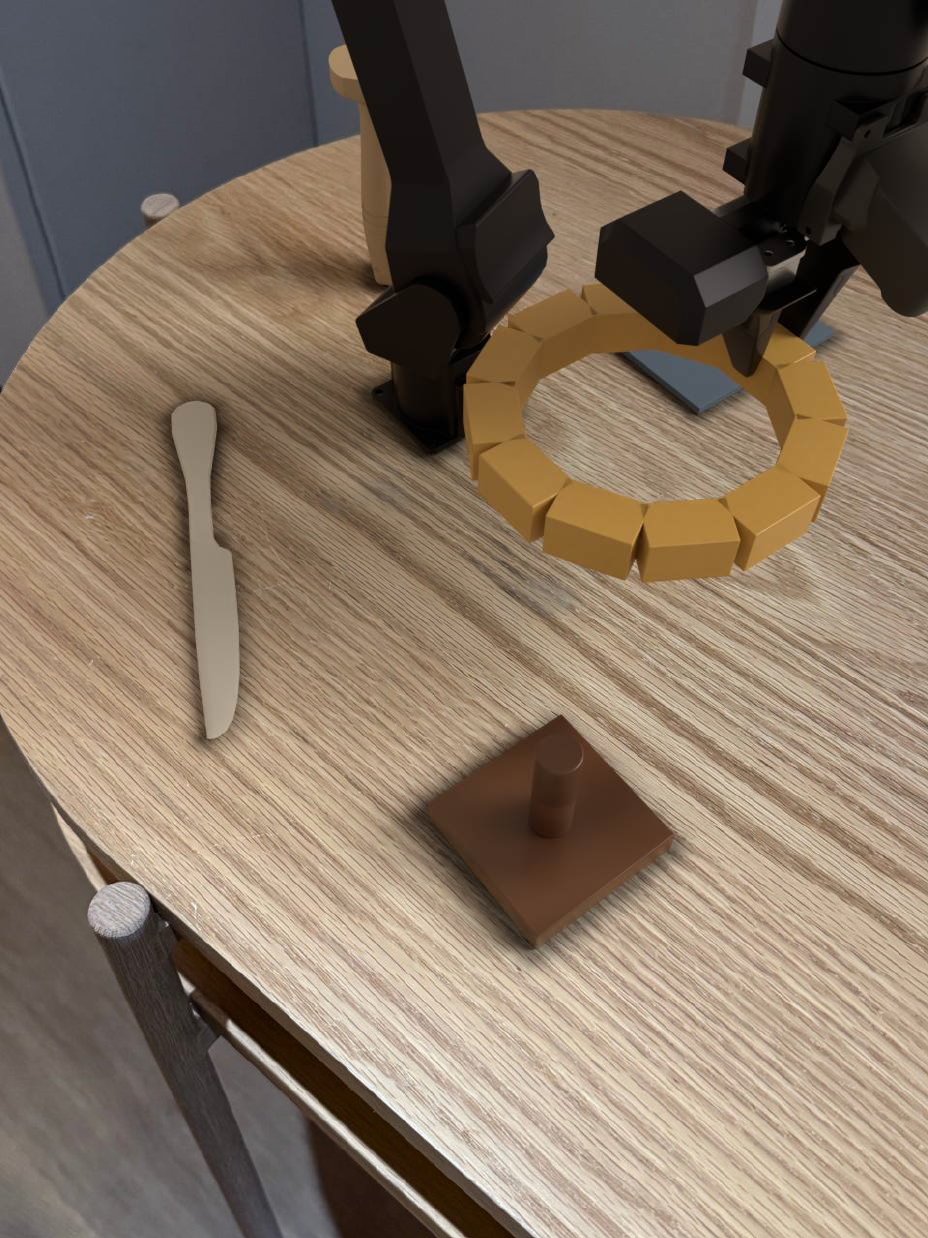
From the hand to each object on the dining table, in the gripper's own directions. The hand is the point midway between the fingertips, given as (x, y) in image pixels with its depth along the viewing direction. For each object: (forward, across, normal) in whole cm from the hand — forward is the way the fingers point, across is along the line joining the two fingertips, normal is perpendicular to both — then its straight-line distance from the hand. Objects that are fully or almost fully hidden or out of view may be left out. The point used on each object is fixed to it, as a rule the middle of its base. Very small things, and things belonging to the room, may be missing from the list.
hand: (762, 360), depth 55 cm
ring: (+1, -7, 0) cm, 7 cm away
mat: (+12, +11, +13) cm, 21 cm away
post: (+12, -20, -9) cm, 25 cm away
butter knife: (+12, -24, +15) cm, 31 cm away
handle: (+12, -2, +29) cm, 32 cm away
